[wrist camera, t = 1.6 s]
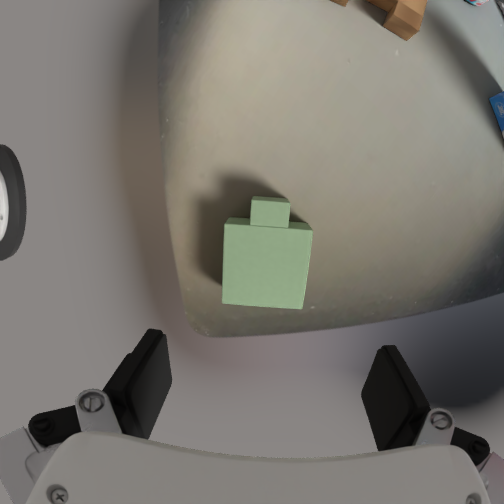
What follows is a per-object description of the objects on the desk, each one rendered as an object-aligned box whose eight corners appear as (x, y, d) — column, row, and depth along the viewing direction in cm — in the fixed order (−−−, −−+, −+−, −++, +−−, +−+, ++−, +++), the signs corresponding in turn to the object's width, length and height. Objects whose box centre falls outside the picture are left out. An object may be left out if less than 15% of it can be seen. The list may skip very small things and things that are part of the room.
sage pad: (226, 289, 26) (221, 303, 23) (230, 194, 24) (225, 198, 21) (298, 294, 26) (302, 309, 23) (310, 200, 23) (316, 205, 21)
